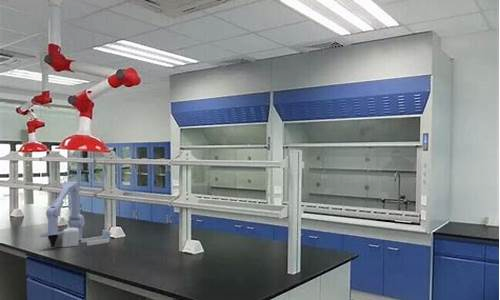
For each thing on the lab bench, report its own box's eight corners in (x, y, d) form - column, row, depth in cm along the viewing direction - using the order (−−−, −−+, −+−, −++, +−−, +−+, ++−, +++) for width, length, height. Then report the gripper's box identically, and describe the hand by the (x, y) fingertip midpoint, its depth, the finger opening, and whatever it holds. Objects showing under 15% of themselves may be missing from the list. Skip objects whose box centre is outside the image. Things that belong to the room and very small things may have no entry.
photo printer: (78, 244, 262) (78, 226, 262) (79, 245, 259) (79, 227, 259) (61, 246, 257) (61, 228, 257) (62, 247, 253) (62, 229, 253)
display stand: (81, 242, 268) (81, 232, 268) (103, 239, 279) (103, 229, 279) (87, 245, 259) (87, 235, 259) (110, 242, 270) (110, 232, 270)
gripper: (42, 228, 242) (42, 249, 242) (66, 225, 252) (66, 246, 252) (39, 226, 247) (39, 247, 247) (63, 224, 257) (62, 244, 257)
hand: (52, 246), depth 250 cm, fingers closed
